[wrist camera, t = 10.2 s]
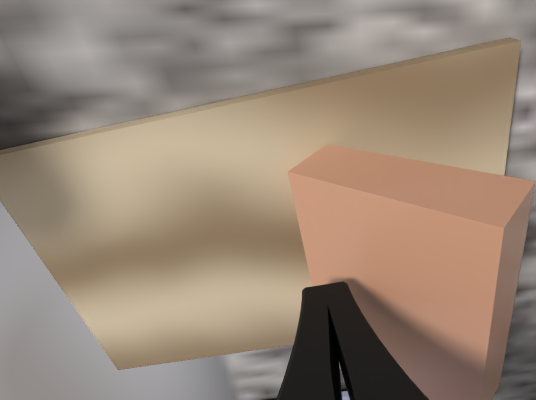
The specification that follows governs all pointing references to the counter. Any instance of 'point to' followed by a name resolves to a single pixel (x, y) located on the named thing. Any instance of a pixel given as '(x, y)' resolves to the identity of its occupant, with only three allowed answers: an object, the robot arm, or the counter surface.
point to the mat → (233, 197)
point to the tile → (419, 258)
